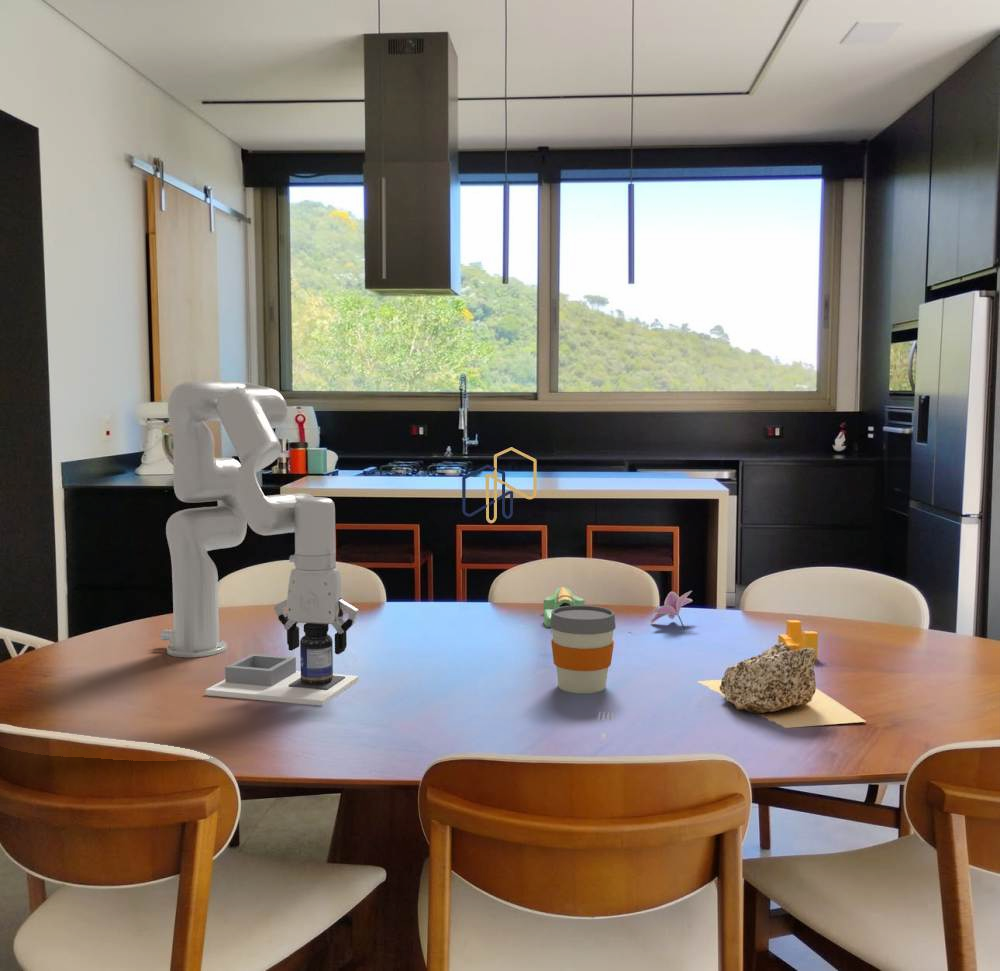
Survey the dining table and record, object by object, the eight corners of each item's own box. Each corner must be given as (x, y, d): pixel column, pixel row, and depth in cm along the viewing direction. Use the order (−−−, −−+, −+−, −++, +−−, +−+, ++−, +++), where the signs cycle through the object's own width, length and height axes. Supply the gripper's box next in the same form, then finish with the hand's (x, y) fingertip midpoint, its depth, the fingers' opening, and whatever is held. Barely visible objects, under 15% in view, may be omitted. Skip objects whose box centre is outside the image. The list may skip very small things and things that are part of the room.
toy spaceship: (543, 600, 264) (543, 574, 263) (581, 601, 263) (581, 574, 263) (543, 628, 232) (543, 599, 231) (586, 629, 231) (587, 599, 231)
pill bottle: (302, 676, 186) (301, 620, 185) (334, 675, 187) (333, 620, 186) (298, 685, 180) (297, 628, 179) (331, 685, 181) (330, 627, 179)
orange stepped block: (778, 648, 214) (779, 620, 214) (797, 648, 215) (798, 620, 214) (796, 663, 203) (797, 633, 202) (816, 663, 203) (818, 633, 202)
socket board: (205, 695, 179) (205, 673, 178) (249, 672, 194) (249, 651, 194) (322, 707, 172) (322, 684, 172) (358, 681, 188) (358, 661, 187)
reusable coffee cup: (571, 702, 175) (572, 622, 174) (537, 684, 186) (538, 608, 185) (627, 693, 181) (628, 615, 180) (591, 675, 192) (592, 602, 191)
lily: (699, 623, 238) (685, 587, 239) (710, 620, 226) (694, 582, 228) (655, 640, 237) (640, 603, 239) (663, 638, 225) (647, 600, 227)
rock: (870, 719, 162) (823, 641, 160) (765, 790, 161) (717, 712, 158) (798, 672, 190) (757, 604, 187) (708, 732, 188) (666, 665, 186)
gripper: (264, 563, 180) (266, 652, 181) (349, 568, 175) (350, 659, 177) (284, 557, 187) (285, 642, 189) (365, 561, 182) (366, 649, 184)
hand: (316, 650), depth 183 cm, fingers open, 9 cm apart
